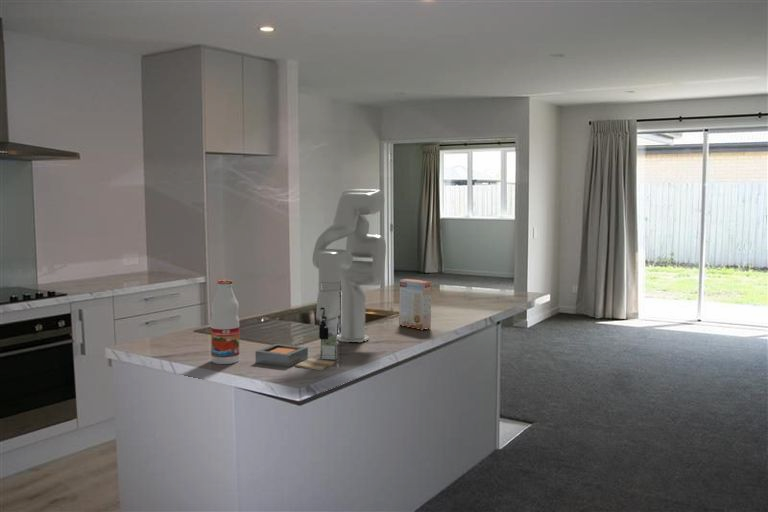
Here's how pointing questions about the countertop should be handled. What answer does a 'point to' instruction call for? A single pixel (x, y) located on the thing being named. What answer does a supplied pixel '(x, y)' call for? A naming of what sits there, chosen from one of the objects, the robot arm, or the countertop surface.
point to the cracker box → (415, 303)
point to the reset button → (282, 350)
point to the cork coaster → (315, 364)
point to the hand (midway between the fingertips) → (328, 336)
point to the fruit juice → (225, 325)
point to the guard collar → (281, 355)
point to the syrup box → (330, 342)
